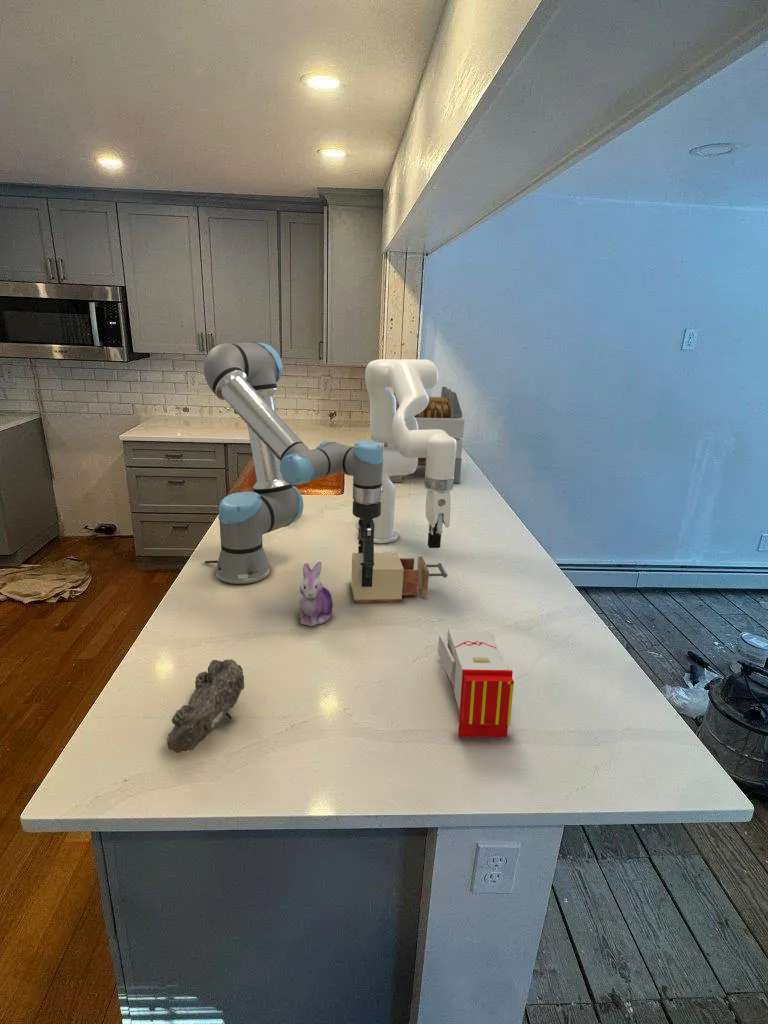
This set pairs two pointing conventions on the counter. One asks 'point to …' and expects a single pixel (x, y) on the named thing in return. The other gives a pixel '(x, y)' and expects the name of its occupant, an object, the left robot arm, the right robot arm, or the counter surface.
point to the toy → (478, 682)
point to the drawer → (418, 576)
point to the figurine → (314, 598)
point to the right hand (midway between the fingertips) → (433, 546)
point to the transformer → (440, 425)
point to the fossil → (206, 705)
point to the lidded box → (378, 579)
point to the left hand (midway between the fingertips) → (364, 576)
